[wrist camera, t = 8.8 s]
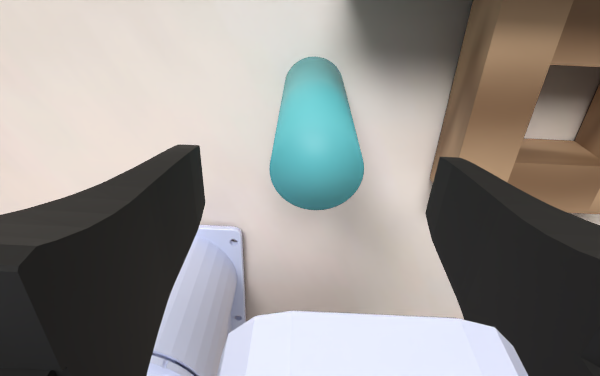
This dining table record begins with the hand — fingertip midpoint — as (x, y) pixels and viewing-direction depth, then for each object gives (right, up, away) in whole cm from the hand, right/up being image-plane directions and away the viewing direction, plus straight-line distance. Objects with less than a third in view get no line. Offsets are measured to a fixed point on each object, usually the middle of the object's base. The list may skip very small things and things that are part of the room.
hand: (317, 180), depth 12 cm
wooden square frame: (+12, +4, +8) cm, 15 cm away
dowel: (0, +5, +8) cm, 10 cm away
